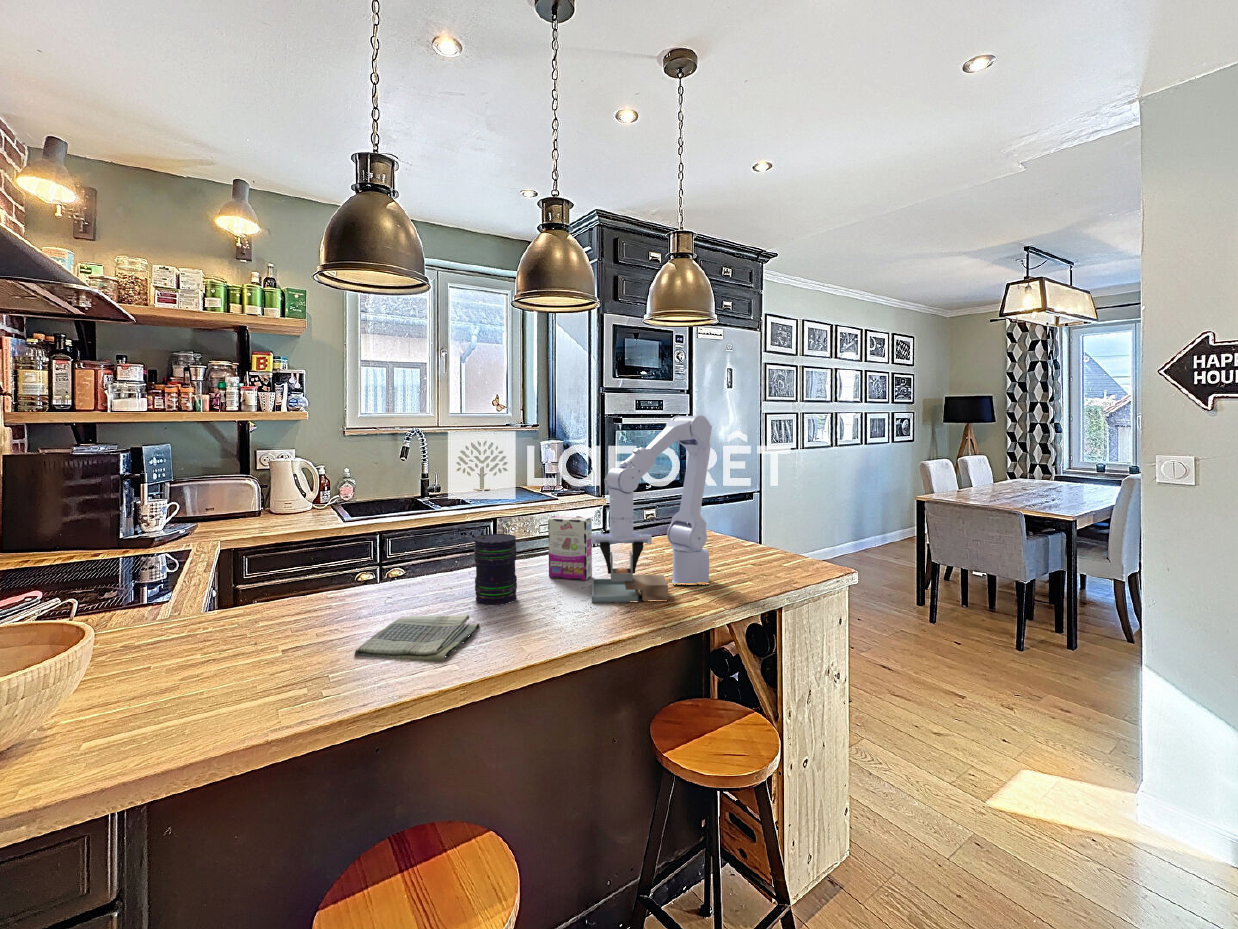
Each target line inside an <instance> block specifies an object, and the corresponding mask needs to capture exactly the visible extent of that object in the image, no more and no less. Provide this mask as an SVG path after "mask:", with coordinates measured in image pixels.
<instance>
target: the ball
mask: <svg viewBox="0 0 1238 929" xmlns="http://www.w3.org/2000/svg"><path fill="white" fill-rule="evenodd" d="M626 568H627V567H620V568H619V569H618V570H617V571H616V574H619V573H629V572H628V570H627V569H626Z"/></svg>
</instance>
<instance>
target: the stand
mask: <svg viewBox="0 0 1238 929" xmlns="http://www.w3.org/2000/svg"><path fill="white" fill-rule="evenodd" d="M624 583H625V588H626V590H637V591H639V594H640V593H641V594H640V597H641V596H642V598H641V601H642V600H643V601H648V600H668V601H669V584H668V582H667V580H666V578H665V576H664V574H644V575H643V574H641V575H640V574H635V575H634V574H633V581H624Z"/></svg>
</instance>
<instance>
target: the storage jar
mask: <svg viewBox="0 0 1238 929" xmlns="http://www.w3.org/2000/svg"><path fill="white" fill-rule="evenodd" d="M516 539H517V537H516V535H513V534H509V533H508V534H507V533H492V534H491V533H489V534H483V535H479V536H476V537H474V543H475V544H474V550H473V552H474V562H475V575H476V577H475V578H474V591H475V602H476V601H477V602H478V603H477V602H476V603H477V604H479V603H480V604H479V605H481V604H484V605H483V606H489V605H495V606H502V605H501V604H504V605H507V604H506V603H508V604H510V603H509V602H511V603H513V602H512V601H514V602H515V601H516V600H517V588H518V587H517V586H518V583H517V582H518V581H517V580H518V578H517V575H516V560H517V558H518V557H517V543H516V541H517V540H516Z"/></svg>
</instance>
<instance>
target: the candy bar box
mask: <svg viewBox="0 0 1238 929" xmlns="http://www.w3.org/2000/svg"><path fill="white" fill-rule="evenodd" d="M547 526H548V527H547V531H548V538H547V539H548V578H549V579H563V580H574V581H575V580H576V581H588V580H589V579H590V578H592V577H593V555H592V553H593V550H592V549H593V548H592V547H593V546H592V545H593V544H591V535H593V534H592V531H593V530H592V517H580V516H579V517H577V516H576V517H573V516H553V517H550V518H548V520H547Z"/></svg>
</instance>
